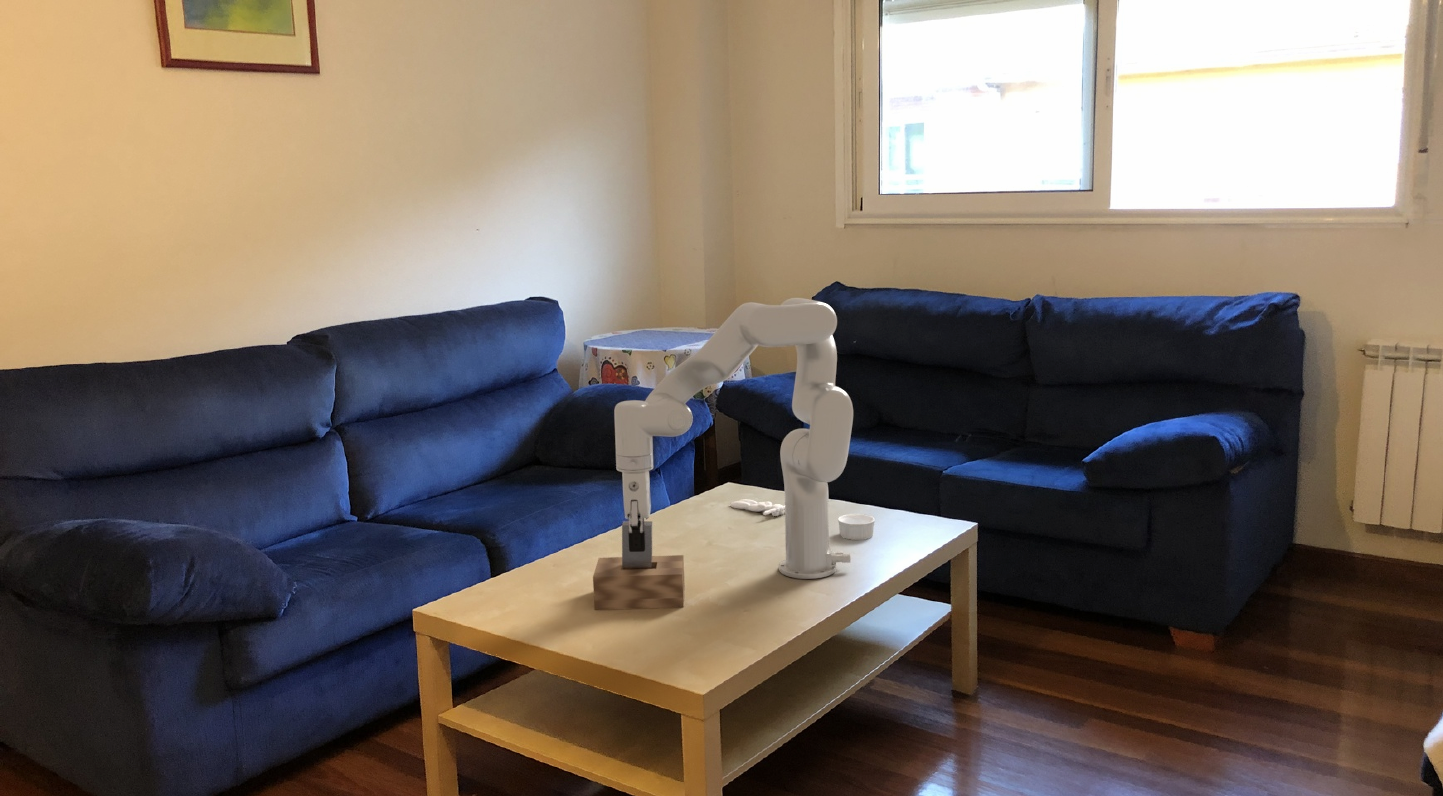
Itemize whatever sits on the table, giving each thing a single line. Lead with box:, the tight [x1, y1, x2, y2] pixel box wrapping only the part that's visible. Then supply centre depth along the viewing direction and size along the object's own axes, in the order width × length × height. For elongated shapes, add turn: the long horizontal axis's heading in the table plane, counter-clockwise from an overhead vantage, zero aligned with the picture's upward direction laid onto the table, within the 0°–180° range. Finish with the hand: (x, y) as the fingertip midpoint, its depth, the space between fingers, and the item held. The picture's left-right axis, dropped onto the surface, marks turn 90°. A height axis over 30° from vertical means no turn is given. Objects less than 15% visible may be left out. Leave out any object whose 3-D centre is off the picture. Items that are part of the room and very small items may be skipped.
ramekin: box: [837, 513, 876, 541], centre depth 266 cm, size 9×9×4 cm
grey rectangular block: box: [621, 520, 653, 568], centre depth 226 cm, size 6×3×9 cm, turn 91°
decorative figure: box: [729, 498, 785, 517], centre depth 289 cm, size 4×12×18 cm
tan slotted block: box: [592, 554, 686, 611], centre depth 228 cm, size 18×12×7 cm, turn 91°
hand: (637, 547), depth 226 cm, fingers closed on grey rectangular block, 3 cm apart
